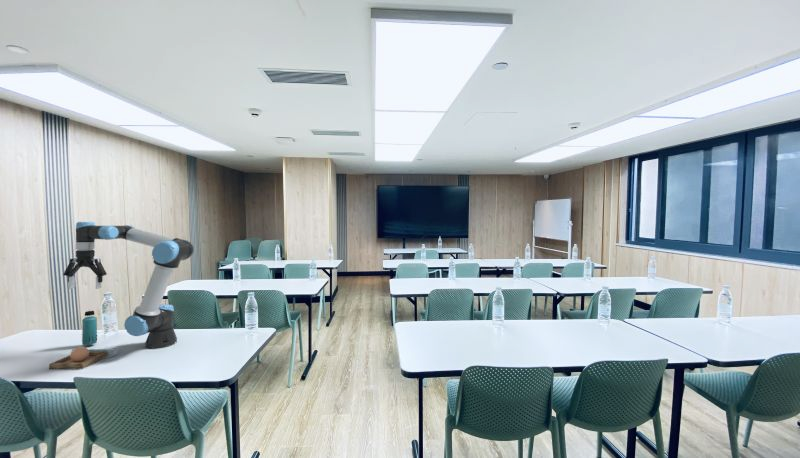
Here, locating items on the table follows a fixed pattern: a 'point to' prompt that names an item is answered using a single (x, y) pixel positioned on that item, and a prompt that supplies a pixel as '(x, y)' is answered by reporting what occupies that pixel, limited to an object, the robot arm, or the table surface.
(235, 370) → the table surface
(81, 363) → the walnut tray
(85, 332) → the beverage bottle
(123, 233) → the robot arm
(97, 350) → the acrylic divider
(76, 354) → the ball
